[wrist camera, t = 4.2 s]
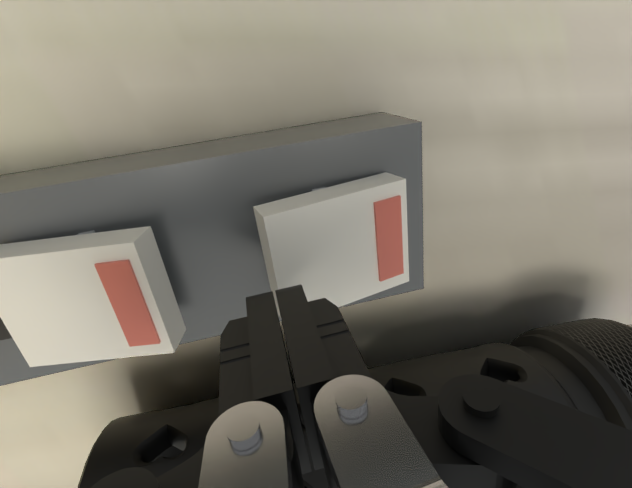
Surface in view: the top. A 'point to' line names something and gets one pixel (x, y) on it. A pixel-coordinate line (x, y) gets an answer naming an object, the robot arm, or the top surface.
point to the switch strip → (209, 209)
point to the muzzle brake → (410, 393)
